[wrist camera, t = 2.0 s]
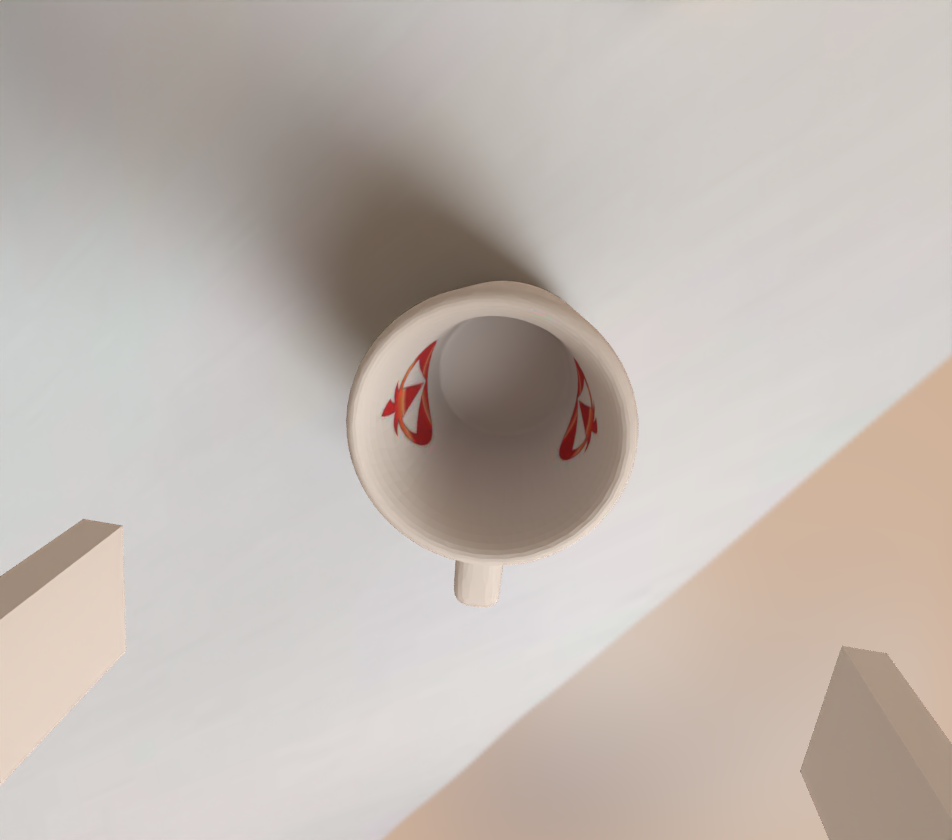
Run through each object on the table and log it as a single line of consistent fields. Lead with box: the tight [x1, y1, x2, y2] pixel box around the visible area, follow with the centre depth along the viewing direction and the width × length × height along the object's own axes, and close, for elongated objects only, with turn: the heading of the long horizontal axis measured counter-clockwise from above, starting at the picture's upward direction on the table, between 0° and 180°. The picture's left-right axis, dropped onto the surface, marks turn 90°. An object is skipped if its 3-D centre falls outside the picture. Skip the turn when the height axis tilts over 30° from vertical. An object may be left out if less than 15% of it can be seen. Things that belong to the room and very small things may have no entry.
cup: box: [346, 281, 638, 607], centre depth 24 cm, size 11×8×8 cm
